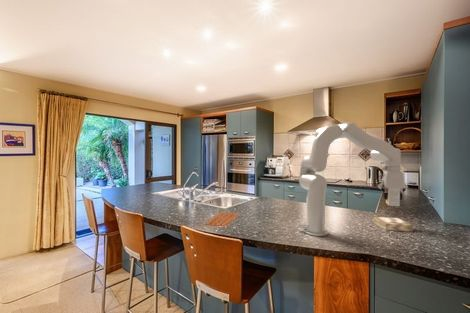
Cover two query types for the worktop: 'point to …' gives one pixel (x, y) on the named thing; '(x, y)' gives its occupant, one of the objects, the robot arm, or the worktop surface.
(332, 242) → the worktop surface
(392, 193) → the small box
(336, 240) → the worktop surface
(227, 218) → the wooden cutting board
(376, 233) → the worktop surface
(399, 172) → the robot arm
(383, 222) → the maple plinth
